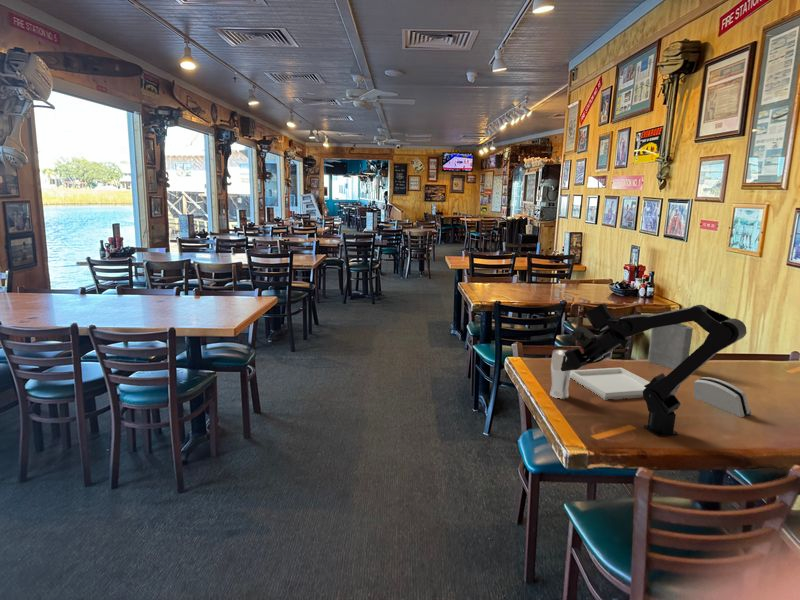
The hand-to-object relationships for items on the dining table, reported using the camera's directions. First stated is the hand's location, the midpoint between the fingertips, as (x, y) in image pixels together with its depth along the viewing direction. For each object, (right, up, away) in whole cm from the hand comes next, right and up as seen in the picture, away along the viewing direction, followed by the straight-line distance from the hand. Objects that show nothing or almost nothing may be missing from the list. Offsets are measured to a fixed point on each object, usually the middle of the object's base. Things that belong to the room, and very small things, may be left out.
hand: (569, 367), depth 164 cm
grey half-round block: (+48, -13, -1) cm, 49 cm away
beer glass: (-2, -10, +4) cm, 11 cm away
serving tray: (+20, -9, +14) cm, 26 cm away
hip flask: (+52, -5, +38) cm, 64 cm away
